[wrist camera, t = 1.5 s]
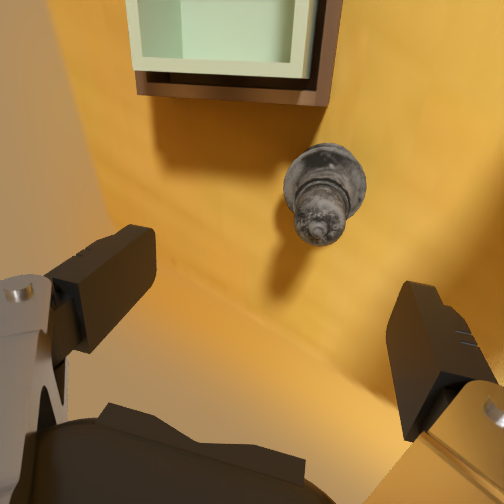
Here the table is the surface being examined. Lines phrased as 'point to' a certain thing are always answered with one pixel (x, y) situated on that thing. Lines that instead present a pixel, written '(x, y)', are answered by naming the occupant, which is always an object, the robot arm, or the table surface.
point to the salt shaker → (324, 192)
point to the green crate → (223, 36)
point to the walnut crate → (259, 86)
